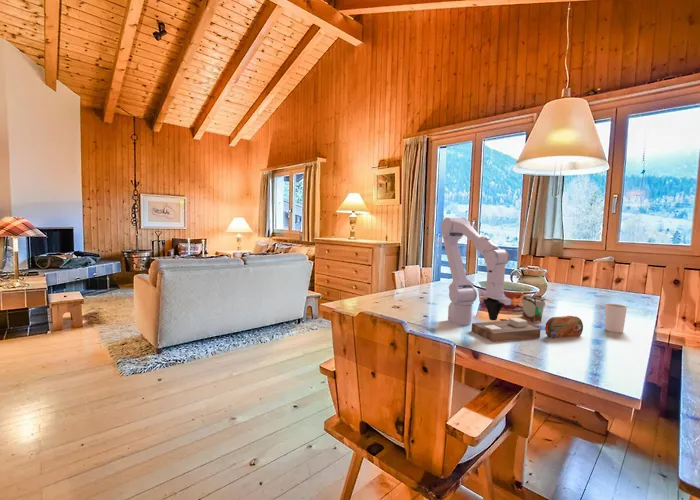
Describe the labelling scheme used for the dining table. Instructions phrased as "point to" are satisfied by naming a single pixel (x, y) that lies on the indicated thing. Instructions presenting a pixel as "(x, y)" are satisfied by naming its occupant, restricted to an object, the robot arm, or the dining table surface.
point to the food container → (533, 308)
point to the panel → (505, 331)
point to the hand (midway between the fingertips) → (492, 319)
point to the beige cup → (615, 317)
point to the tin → (564, 327)
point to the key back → (517, 322)
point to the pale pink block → (492, 327)
